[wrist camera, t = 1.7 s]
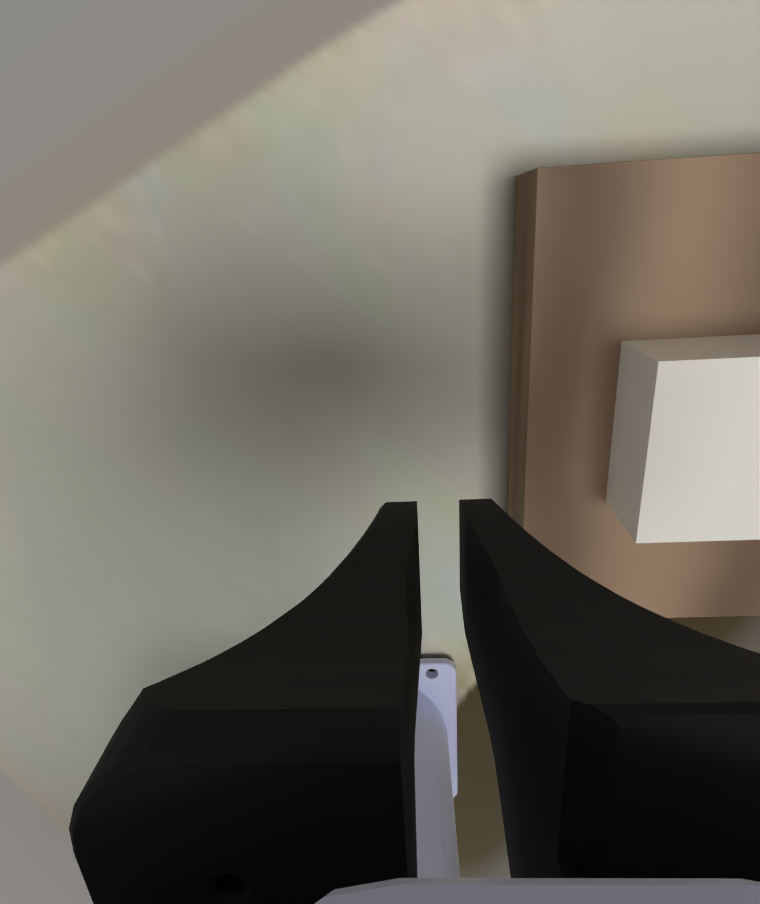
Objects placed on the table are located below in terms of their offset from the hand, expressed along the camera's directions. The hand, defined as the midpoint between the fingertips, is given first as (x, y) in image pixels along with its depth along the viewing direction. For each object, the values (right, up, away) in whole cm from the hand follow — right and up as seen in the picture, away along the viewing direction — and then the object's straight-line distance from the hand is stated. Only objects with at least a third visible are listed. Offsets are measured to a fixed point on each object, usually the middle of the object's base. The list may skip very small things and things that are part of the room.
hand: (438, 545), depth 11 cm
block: (+8, +3, +6) cm, 10 cm away
